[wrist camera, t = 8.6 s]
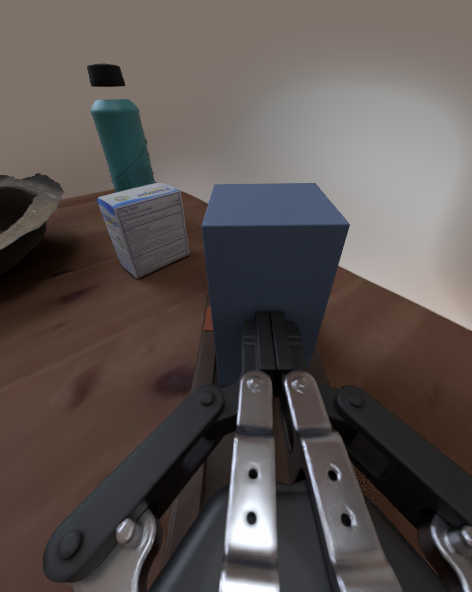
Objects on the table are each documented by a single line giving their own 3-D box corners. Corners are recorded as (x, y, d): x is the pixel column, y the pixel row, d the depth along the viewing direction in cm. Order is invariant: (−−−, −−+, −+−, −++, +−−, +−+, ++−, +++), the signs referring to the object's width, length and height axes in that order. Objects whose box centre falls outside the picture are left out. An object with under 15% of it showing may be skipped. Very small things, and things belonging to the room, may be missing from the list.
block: (219, 386, 18) (201, 225, 10) (223, 325, 22) (213, 184, 15) (303, 386, 17) (350, 224, 10) (290, 325, 22) (315, 182, 14)
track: (141, 696, 9) (130, 708, 8) (212, 269, 30) (211, 259, 30) (425, 707, 9) (446, 720, 8) (293, 268, 30) (294, 258, 29)
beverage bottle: (144, 230, 40) (98, 59, 27) (116, 223, 42) (61, 63, 30) (170, 216, 44) (142, 63, 32) (143, 210, 47) (106, 67, 34)
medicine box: (172, 245, 36) (159, 181, 30) (191, 255, 33) (181, 188, 28) (120, 266, 31) (94, 196, 26) (137, 280, 29) (112, 206, 23)
